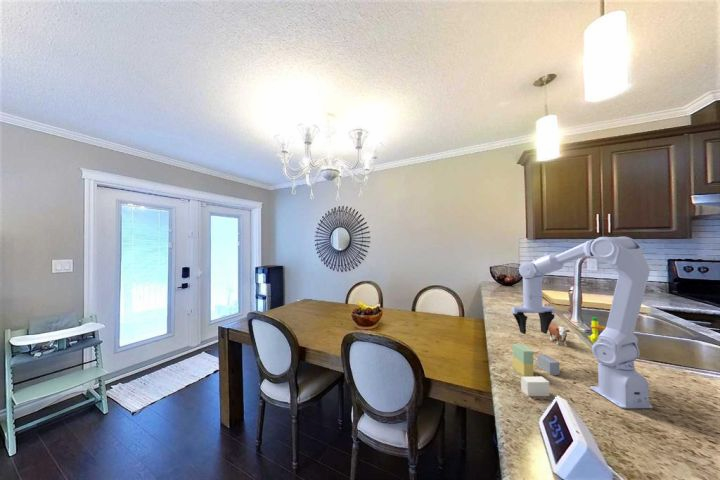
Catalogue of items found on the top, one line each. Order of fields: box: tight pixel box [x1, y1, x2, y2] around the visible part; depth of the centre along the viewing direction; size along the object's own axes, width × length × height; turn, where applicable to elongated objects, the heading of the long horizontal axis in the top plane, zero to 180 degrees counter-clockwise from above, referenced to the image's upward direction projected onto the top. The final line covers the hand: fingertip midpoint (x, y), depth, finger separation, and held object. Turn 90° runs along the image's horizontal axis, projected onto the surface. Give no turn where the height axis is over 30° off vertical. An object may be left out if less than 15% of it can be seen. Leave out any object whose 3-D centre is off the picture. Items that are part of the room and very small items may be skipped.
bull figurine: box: [547, 322, 570, 348], centre depth 108 cm, size 4×13×8 cm, turn 163°
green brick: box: [512, 343, 534, 365], centre depth 85 cm, size 6×3×4 cm, turn 179°
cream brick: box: [520, 376, 550, 397], centre depth 73 cm, size 6×3×4 cm, turn 89°
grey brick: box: [536, 354, 560, 376], centre depth 86 cm, size 6×3×4 cm, turn 179°
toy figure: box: [587, 316, 606, 345], centre depth 103 cm, size 7×4×12 cm, turn 43°
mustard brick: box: [512, 355, 535, 377], centre depth 85 cm, size 6×3×4 cm, turn 179°
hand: (533, 332), depth 93 cm, fingers open, 7 cm apart
